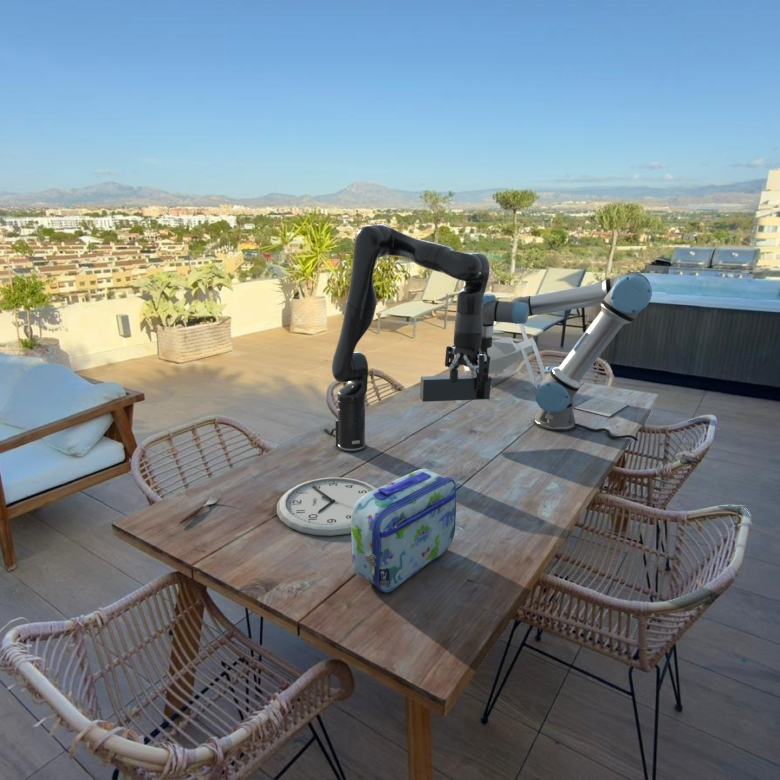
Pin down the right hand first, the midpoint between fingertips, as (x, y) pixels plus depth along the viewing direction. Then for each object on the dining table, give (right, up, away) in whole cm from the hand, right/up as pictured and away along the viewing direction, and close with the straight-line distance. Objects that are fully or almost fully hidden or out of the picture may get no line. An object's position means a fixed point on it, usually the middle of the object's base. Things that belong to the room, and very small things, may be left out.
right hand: (477, 395), depth 201 cm
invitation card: (+58, -5, +25) cm, 63 cm away
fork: (-84, -30, -62) cm, 109 cm away
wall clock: (-50, -29, -58) cm, 82 cm away
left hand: (-13, +3, -54) cm, 56 cm away
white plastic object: (+21, +5, +57) cm, 61 cm away
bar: (-9, -1, -1) cm, 9 cm away
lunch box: (-31, -38, -83) cm, 96 cm away
